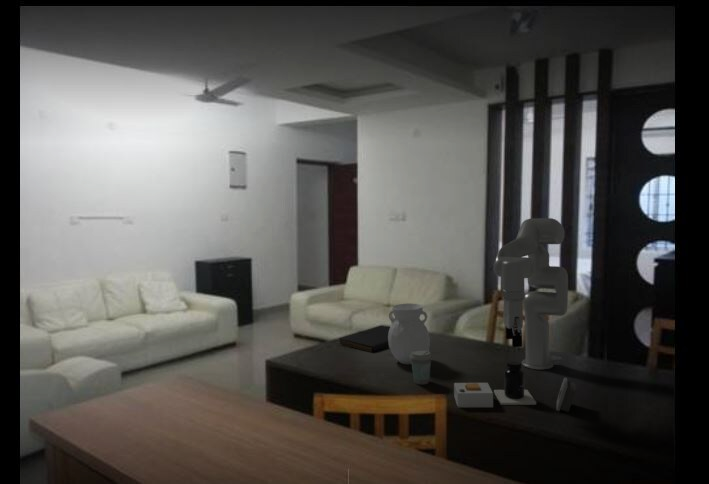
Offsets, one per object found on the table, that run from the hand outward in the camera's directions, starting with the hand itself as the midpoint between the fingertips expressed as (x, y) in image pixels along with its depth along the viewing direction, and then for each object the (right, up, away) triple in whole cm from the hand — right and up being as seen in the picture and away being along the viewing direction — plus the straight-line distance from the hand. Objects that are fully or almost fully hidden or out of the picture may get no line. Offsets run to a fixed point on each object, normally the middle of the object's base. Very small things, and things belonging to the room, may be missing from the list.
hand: (513, 342), depth 180 cm
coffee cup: (-30, -20, +21) cm, 42 cm away
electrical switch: (+15, -21, -8) cm, 27 cm away
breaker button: (-15, -19, -1) cm, 24 cm away
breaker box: (-15, -21, 0) cm, 25 cm away
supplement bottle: (+1, -20, +2) cm, 20 cm away
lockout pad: (+1, -20, +1) cm, 20 cm away
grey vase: (-32, -18, +47) cm, 60 cm away
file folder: (-45, -16, +82) cm, 95 cm away
